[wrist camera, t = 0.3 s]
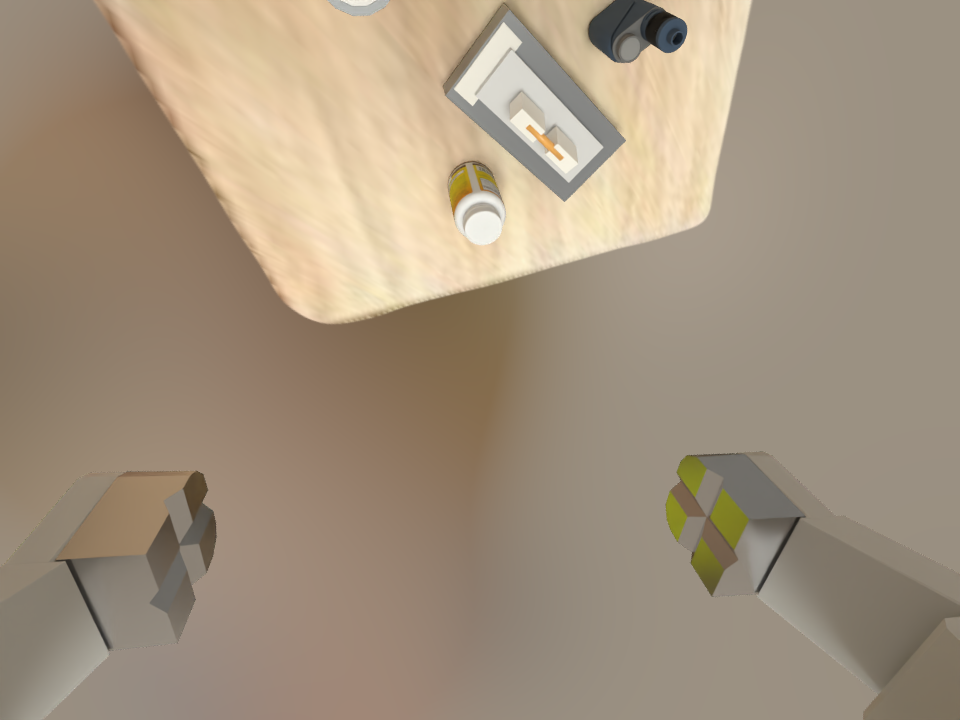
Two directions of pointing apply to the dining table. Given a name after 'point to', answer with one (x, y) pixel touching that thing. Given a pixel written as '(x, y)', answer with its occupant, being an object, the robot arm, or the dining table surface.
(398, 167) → the dining table surface
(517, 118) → the double breaker paddle
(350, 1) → the white cylinder
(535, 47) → the panel
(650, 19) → the vaping device
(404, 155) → the dining table surface
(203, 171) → the dining table surface
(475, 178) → the supplement bottle
